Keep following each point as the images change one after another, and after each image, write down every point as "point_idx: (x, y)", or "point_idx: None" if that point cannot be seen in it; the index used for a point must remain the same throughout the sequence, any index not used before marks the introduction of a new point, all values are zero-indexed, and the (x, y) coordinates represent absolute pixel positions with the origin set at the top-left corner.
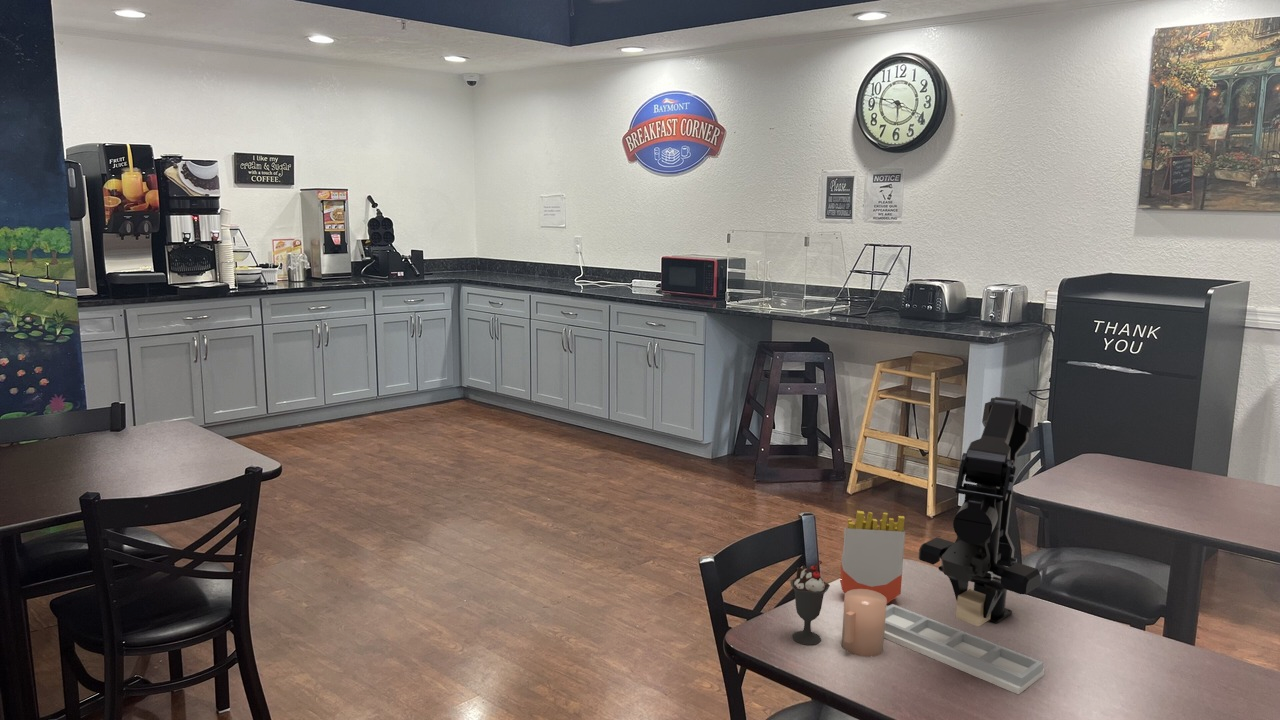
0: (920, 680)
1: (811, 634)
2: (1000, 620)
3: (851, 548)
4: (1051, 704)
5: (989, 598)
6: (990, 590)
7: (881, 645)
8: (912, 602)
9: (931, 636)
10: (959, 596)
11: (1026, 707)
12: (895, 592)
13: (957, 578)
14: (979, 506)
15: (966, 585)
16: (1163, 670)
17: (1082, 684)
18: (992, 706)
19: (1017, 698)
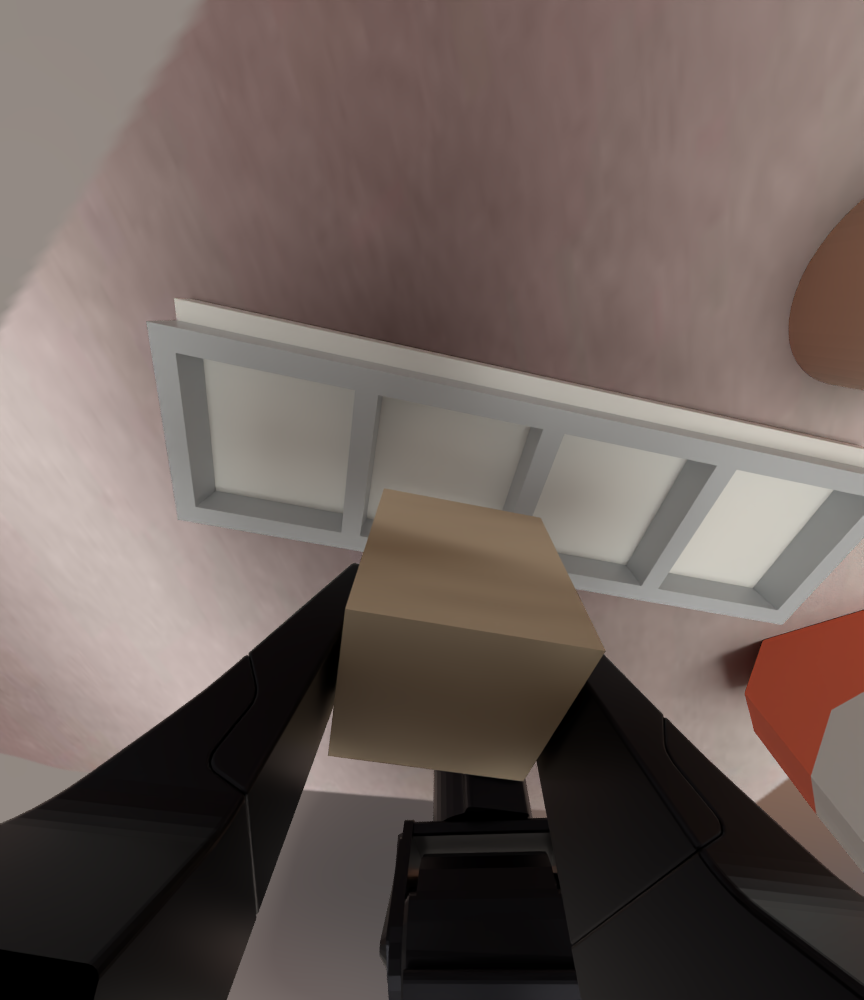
0: (591, 95)
1: None
2: None
3: None
4: (70, 306)
5: (233, 700)
6: (60, 864)
7: (845, 269)
8: (674, 686)
9: (601, 515)
10: (585, 646)
11: (107, 195)
12: (766, 691)
13: (759, 939)
14: None
15: (559, 811)
16: (49, 682)
17: (108, 518)
18: (205, 66)
19: (177, 260)
